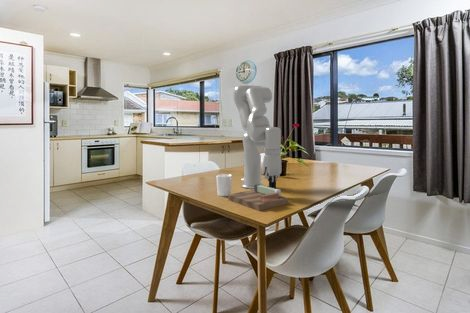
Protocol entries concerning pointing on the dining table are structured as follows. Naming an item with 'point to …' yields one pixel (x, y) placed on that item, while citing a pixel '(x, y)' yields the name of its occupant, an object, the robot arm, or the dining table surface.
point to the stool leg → (266, 189)
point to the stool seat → (258, 199)
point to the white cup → (224, 184)
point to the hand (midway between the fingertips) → (272, 189)
